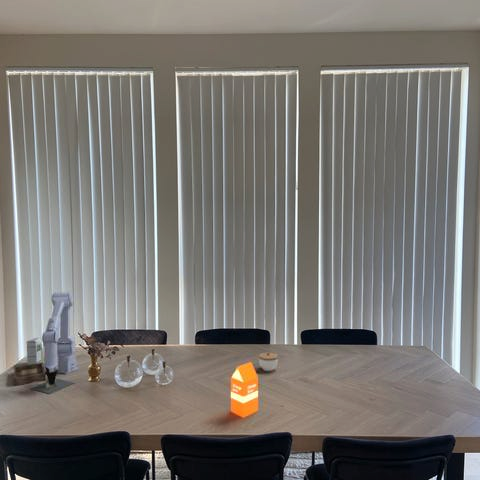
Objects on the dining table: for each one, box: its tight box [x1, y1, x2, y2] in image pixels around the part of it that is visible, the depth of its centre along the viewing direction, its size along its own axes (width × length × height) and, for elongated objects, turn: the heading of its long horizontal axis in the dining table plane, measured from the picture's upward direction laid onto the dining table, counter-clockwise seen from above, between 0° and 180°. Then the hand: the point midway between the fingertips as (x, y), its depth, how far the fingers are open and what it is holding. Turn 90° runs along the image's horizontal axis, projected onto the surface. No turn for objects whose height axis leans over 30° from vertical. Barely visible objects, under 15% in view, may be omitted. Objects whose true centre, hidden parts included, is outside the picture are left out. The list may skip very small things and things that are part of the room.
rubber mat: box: [30, 378, 75, 395], centre depth 188 cm, size 14×14×1 cm
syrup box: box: [26, 337, 43, 365], centre depth 221 cm, size 6×6×14 cm
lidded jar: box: [258, 351, 279, 372], centre depth 209 cm, size 11×11×9 cm
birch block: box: [45, 375, 57, 388], centre depth 188 cm, size 4×4×5 cm
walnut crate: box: [13, 361, 46, 387], centre depth 201 cm, size 14×20×4 cm
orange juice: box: [230, 361, 259, 419], centre depth 160 cm, size 8×9×20 cm
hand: (51, 381), depth 188 cm, fingers open, 7 cm apart
